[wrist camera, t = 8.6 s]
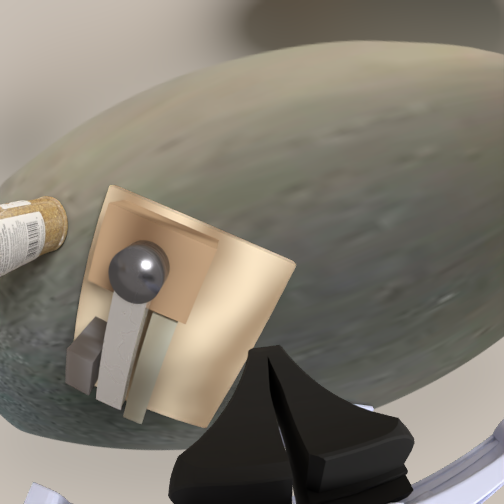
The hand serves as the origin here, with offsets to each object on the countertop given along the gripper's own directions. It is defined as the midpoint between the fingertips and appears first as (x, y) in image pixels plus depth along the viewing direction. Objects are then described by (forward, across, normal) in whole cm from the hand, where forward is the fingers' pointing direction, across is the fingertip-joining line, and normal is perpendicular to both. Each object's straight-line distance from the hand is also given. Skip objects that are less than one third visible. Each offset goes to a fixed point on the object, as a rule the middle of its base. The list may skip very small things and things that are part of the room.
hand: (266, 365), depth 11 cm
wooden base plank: (+9, +7, +3) cm, 12 cm away
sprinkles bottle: (+10, +16, -7) cm, 20 cm away
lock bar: (+5, +8, +1) cm, 10 cm away
